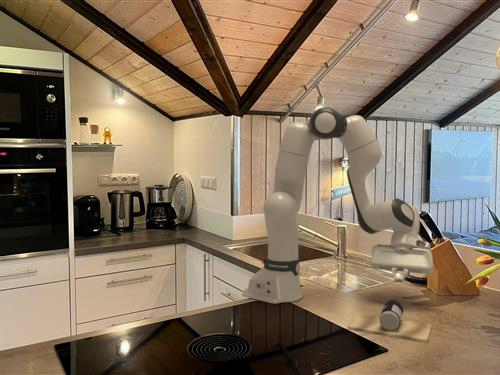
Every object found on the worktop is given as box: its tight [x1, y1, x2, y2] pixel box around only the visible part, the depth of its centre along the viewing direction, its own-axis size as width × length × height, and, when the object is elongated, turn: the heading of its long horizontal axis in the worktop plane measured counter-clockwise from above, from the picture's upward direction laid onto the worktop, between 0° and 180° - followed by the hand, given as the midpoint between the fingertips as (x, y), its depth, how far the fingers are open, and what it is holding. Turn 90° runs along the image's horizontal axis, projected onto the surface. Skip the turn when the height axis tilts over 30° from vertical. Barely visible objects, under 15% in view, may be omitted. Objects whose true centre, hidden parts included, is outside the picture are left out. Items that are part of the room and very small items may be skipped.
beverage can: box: [379, 299, 404, 330], centre depth 129 cm, size 6×6×12 cm
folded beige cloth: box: [347, 312, 432, 344], centre depth 128 cm, size 22×12×1 cm, turn 63°
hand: (398, 281), depth 142 cm, fingers closed
